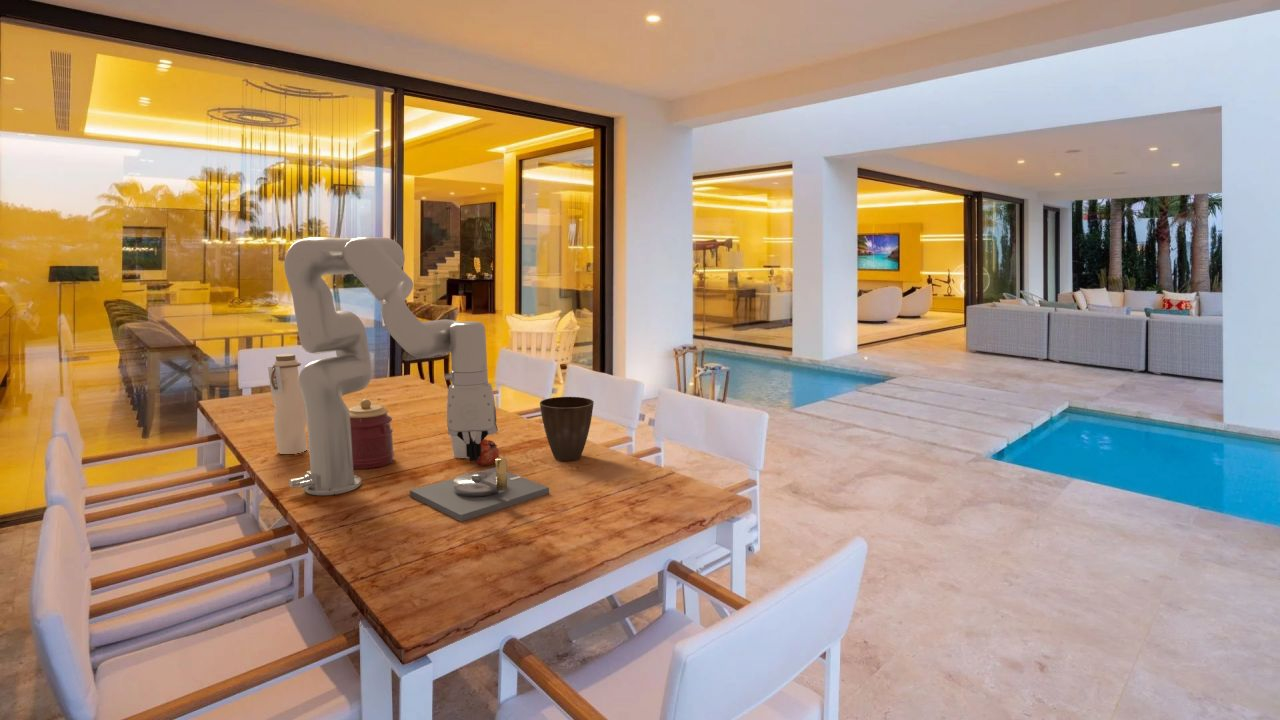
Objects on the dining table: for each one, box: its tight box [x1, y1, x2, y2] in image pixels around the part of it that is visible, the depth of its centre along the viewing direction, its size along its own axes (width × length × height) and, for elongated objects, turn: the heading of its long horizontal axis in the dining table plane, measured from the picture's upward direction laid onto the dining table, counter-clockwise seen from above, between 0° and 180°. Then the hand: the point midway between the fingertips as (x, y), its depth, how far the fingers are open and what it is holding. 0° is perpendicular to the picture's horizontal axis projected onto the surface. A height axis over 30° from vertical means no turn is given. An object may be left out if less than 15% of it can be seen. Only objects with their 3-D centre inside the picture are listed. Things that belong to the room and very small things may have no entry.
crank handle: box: [453, 456, 508, 497], centre depth 158 cm, size 16×12×9 cm
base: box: [409, 466, 550, 522], centre depth 160 cm, size 24×22×2 cm
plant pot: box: [539, 396, 595, 462], centre depth 189 cm, size 15×15×16 cm
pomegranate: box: [475, 438, 500, 467], centre depth 183 cm, size 7×7×10 cm
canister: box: [348, 398, 395, 470], centre depth 183 cm, size 13×13×18 cm
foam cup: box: [449, 431, 476, 459], centre depth 191 cm, size 10×9×13 cm
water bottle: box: [267, 353, 309, 455], centre depth 192 cm, size 10×9×28 cm
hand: (474, 459), depth 150 cm, fingers closed
